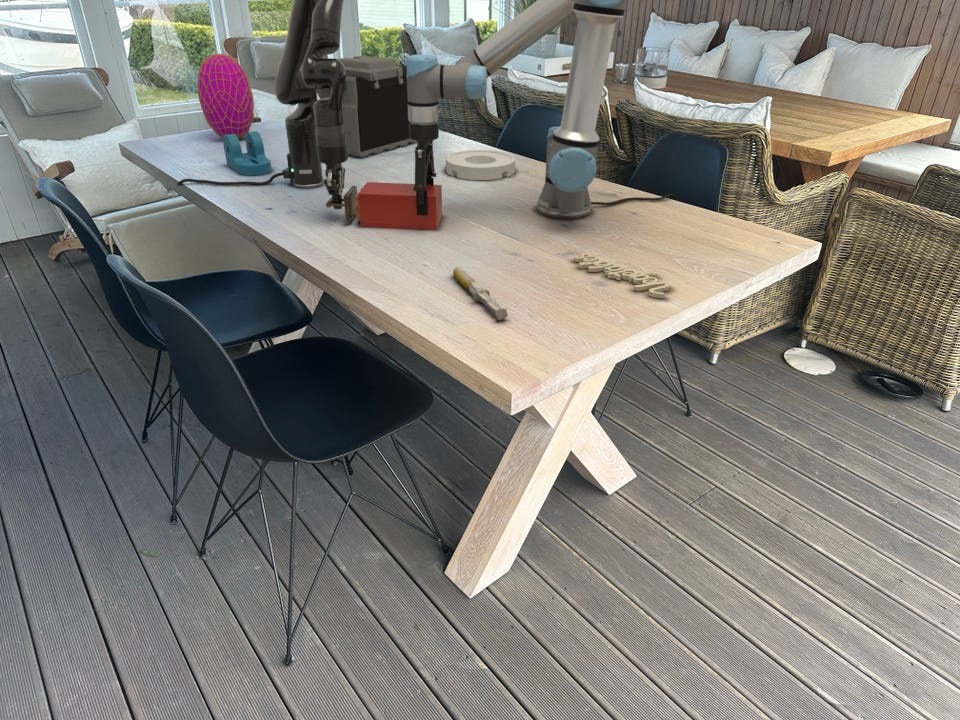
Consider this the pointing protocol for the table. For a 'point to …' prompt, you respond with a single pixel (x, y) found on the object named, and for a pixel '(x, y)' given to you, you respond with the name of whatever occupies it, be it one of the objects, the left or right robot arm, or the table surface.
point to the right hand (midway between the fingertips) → (425, 208)
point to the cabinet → (398, 206)
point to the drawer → (348, 204)
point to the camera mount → (246, 154)
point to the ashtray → (480, 164)
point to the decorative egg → (225, 95)
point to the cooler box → (373, 105)
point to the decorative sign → (625, 274)
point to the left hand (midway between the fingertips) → (338, 208)
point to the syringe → (479, 293)
